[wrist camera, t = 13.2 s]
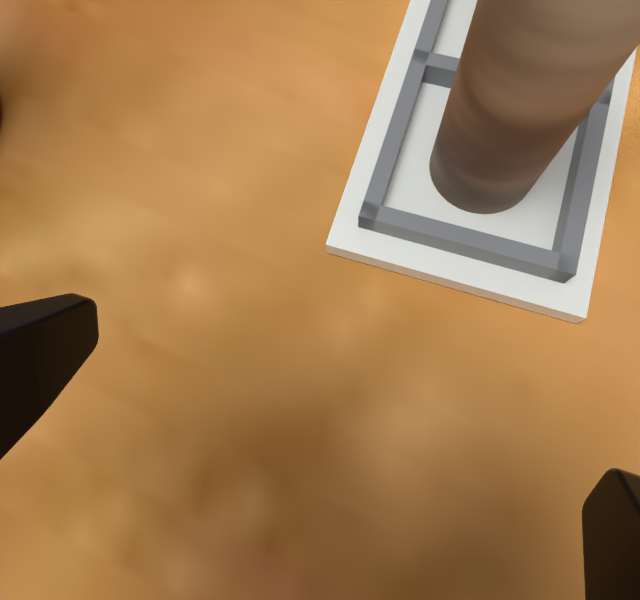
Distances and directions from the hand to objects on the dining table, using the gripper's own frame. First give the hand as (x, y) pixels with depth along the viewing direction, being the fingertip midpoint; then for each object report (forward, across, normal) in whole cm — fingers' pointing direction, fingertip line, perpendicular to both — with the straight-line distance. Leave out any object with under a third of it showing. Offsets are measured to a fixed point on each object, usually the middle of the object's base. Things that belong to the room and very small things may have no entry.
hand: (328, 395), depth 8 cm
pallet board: (+22, -3, -3) cm, 23 cm away
